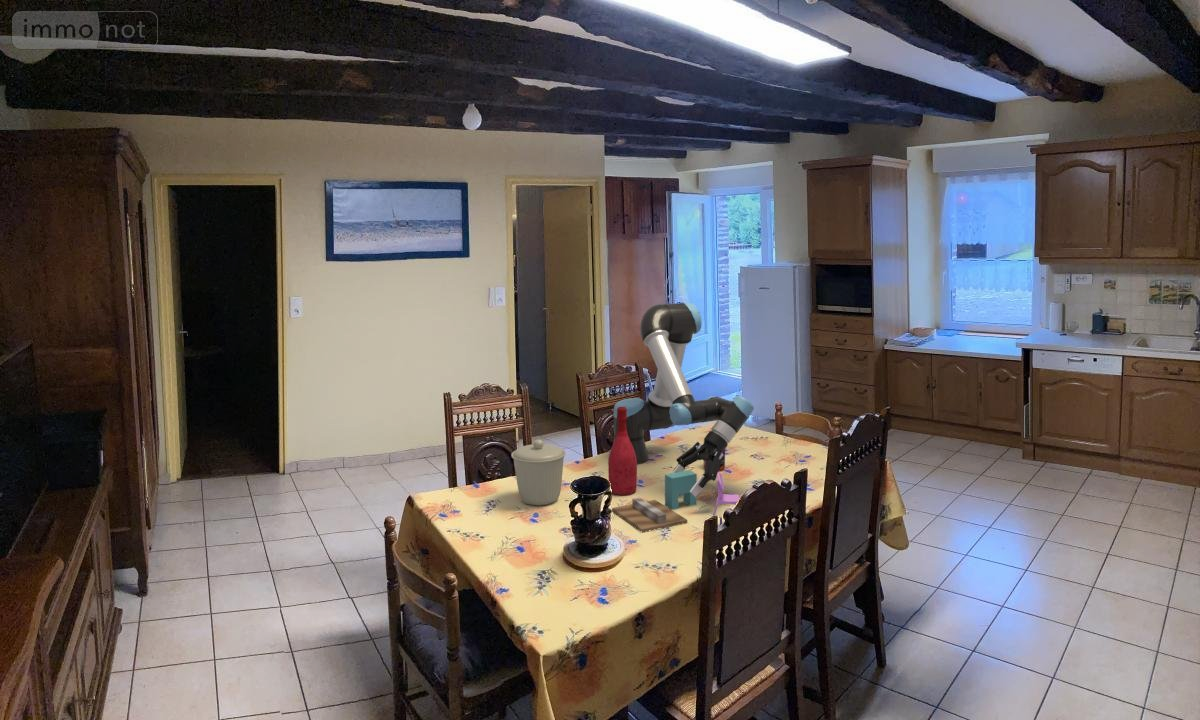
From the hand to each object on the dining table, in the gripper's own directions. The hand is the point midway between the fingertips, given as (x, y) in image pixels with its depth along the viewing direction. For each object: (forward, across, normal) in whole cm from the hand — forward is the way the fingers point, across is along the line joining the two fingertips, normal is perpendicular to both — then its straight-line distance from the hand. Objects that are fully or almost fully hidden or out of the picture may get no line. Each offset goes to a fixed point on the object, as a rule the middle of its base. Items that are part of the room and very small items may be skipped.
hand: (681, 488), depth 256 cm
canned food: (-18, +27, -27) cm, 42 cm away
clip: (+4, +1, -4) cm, 6 cm away
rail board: (+14, -3, +6) cm, 16 cm away
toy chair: (0, -18, -8) cm, 19 cm away
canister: (+32, +27, +23) cm, 48 cm away
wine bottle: (+12, +21, +3) cm, 24 cm away
